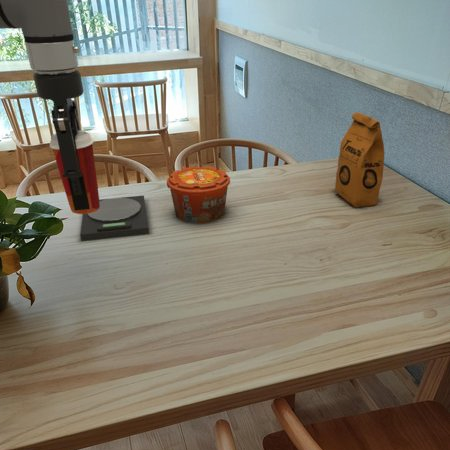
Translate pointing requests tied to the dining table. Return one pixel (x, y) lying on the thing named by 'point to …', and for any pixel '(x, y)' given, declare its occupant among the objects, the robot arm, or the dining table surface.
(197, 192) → the food container
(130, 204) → the scale
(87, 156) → the paper cup
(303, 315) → the dining table surface
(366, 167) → the coffee package
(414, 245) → the dining table surface
